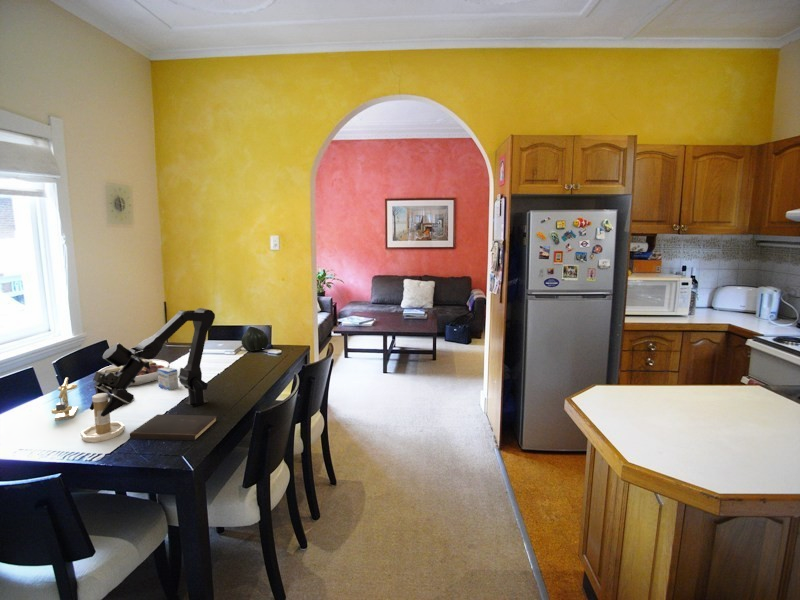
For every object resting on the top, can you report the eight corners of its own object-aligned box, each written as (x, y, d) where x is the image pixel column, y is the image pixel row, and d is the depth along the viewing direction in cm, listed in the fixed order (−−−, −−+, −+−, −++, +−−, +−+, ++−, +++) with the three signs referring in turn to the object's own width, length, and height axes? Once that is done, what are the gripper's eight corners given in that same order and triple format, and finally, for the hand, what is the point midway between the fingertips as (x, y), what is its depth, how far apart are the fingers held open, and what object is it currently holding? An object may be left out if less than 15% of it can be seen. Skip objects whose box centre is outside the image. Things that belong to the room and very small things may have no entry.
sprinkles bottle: (96, 430, 152) (92, 393, 150) (111, 427, 154) (108, 391, 152) (95, 435, 148) (91, 398, 146) (111, 432, 150) (107, 395, 148)
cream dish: (128, 433, 152) (128, 428, 151) (88, 445, 143) (87, 440, 142) (117, 423, 159) (116, 418, 159) (77, 434, 150) (77, 429, 150)
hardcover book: (157, 420, 164) (157, 414, 163) (217, 421, 163) (216, 415, 162) (129, 440, 148) (129, 433, 148) (195, 442, 147) (194, 435, 146)
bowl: (81, 384, 200) (79, 368, 199) (139, 366, 228) (138, 351, 227) (129, 392, 191) (128, 375, 189) (183, 372, 219) (182, 357, 217)
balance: (62, 407, 173) (59, 376, 171) (81, 405, 176) (77, 373, 174) (51, 426, 157) (46, 391, 155) (71, 422, 160) (67, 388, 158)
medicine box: (158, 387, 196) (156, 369, 195) (167, 384, 200) (166, 366, 199) (169, 390, 193) (168, 371, 191) (178, 387, 197) (177, 369, 195)
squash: (271, 343, 253) (265, 321, 260) (244, 347, 246) (239, 325, 253) (268, 354, 264) (263, 333, 271) (242, 358, 257) (238, 337, 263)
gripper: (97, 357, 156) (64, 395, 148) (120, 366, 145) (85, 408, 138) (123, 372, 163) (93, 410, 156) (147, 382, 152) (115, 423, 145)
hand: (96, 412), depth 149 cm, fingers open, 9 cm apart
